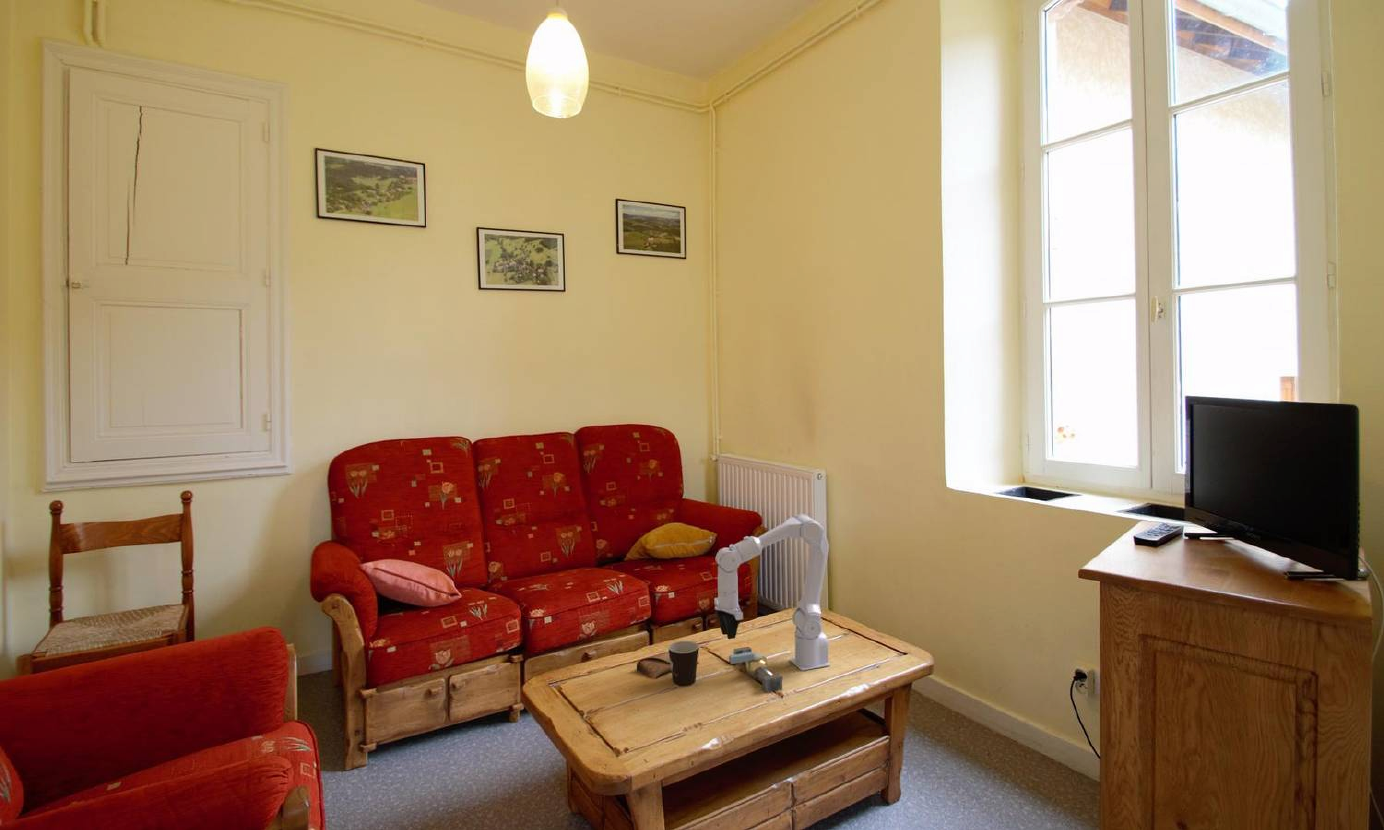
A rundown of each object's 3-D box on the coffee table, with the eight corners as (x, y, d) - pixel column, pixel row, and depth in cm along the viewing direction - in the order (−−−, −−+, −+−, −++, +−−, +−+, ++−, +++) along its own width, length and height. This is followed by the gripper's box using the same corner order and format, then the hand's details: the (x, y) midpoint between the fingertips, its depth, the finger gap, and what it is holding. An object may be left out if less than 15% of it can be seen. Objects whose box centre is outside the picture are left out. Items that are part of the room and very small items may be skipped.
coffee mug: (696, 689, 185) (695, 654, 184) (665, 687, 186) (665, 652, 186) (703, 671, 196) (703, 637, 196) (675, 669, 198) (674, 635, 197)
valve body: (732, 661, 203) (731, 646, 202) (750, 658, 205) (750, 643, 204) (763, 693, 182) (763, 677, 182) (783, 689, 184) (783, 673, 184)
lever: (759, 655, 195) (759, 649, 195) (763, 659, 192) (763, 653, 192) (728, 660, 192) (728, 654, 192) (732, 665, 189) (732, 658, 189)
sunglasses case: (653, 680, 190) (645, 657, 193) (641, 685, 195) (634, 662, 198) (701, 662, 202) (694, 640, 204) (689, 667, 207) (682, 646, 209)
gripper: (704, 585, 199) (705, 630, 200) (726, 599, 186) (727, 647, 187) (726, 581, 202) (726, 626, 203) (749, 596, 189) (749, 643, 190)
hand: (728, 636), depth 195 cm, fingers open, 3 cm apart
